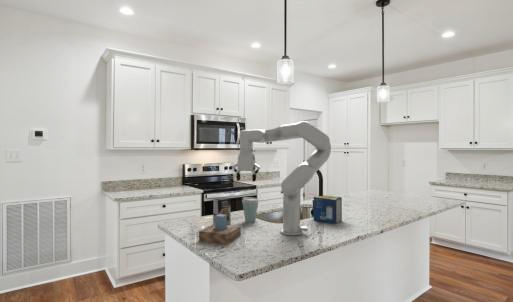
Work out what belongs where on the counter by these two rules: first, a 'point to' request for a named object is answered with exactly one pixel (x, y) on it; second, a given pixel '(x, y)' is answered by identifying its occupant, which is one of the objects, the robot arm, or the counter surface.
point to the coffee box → (222, 208)
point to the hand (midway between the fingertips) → (246, 180)
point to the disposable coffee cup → (250, 208)
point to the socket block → (219, 234)
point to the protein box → (328, 209)
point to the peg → (220, 222)
